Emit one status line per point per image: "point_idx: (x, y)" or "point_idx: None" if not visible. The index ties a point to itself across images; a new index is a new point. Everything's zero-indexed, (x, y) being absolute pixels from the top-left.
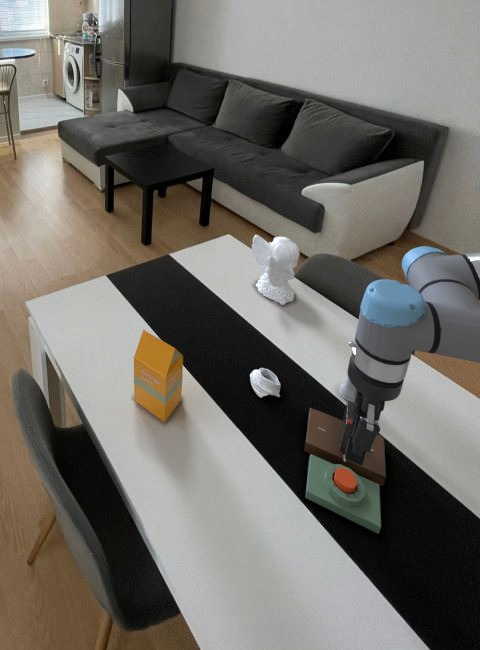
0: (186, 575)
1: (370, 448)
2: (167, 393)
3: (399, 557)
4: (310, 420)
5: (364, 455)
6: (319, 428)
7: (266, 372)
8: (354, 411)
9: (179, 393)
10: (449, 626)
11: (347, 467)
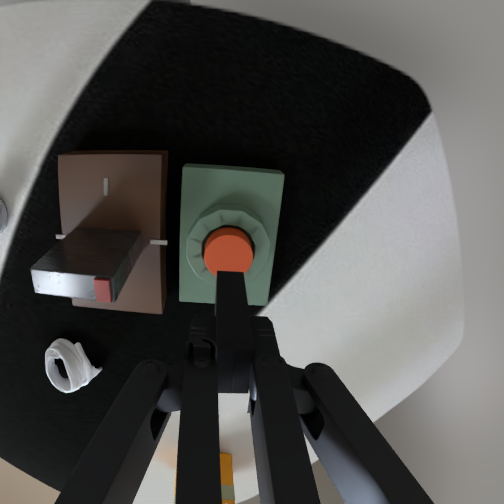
0: (402, 391)
1: (351, 396)
2: (227, 499)
3: (308, 139)
4: (103, 306)
5: (247, 300)
6: None
7: (51, 370)
8: (165, 426)
9: None
10: (382, 88)
11: (187, 243)
